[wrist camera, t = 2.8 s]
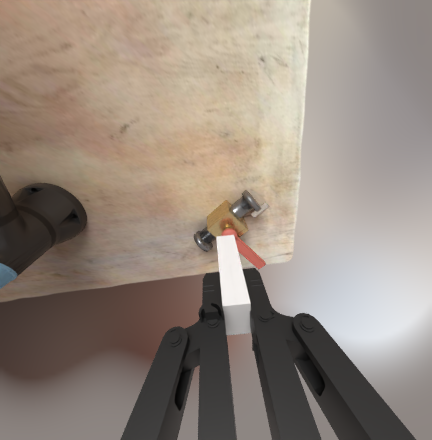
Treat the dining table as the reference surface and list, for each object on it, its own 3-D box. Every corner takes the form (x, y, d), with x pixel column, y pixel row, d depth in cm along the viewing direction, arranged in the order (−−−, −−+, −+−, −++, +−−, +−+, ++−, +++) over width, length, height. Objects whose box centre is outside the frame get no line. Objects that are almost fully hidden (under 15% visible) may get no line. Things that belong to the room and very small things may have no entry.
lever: (217, 234, 42) (218, 237, 41) (229, 225, 41) (230, 228, 40) (255, 267, 48) (256, 270, 47) (266, 259, 47) (268, 263, 46)
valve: (215, 247, 55) (217, 268, 48) (193, 228, 52) (191, 248, 44) (268, 205, 49) (280, 221, 42) (247, 181, 46) (255, 194, 38)
